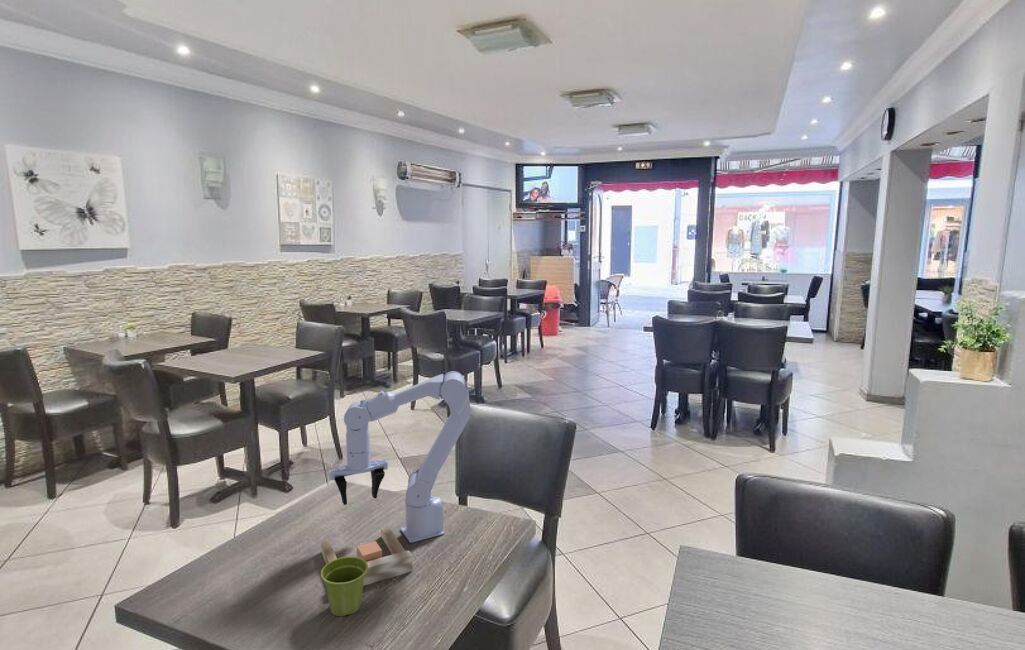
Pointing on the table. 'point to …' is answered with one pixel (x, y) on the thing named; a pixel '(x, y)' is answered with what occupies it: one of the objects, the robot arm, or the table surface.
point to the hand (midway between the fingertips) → (359, 499)
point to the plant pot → (344, 584)
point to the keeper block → (369, 551)
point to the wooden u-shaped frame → (380, 559)
